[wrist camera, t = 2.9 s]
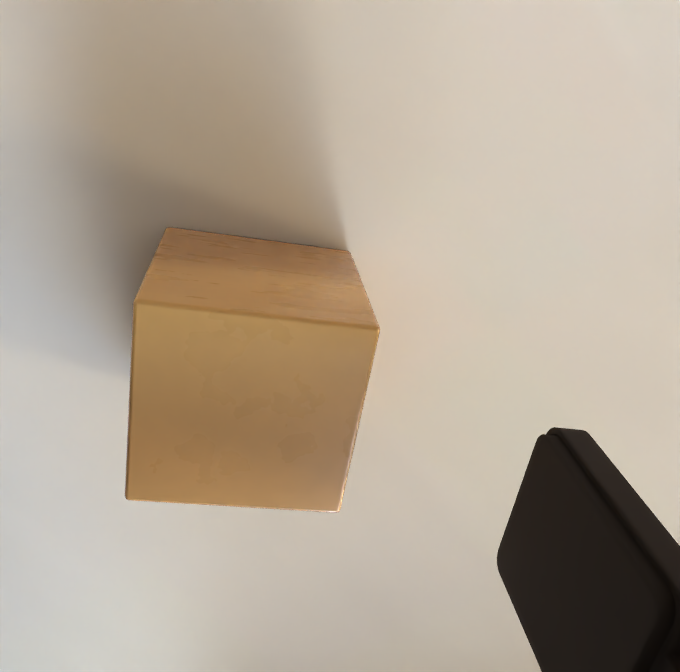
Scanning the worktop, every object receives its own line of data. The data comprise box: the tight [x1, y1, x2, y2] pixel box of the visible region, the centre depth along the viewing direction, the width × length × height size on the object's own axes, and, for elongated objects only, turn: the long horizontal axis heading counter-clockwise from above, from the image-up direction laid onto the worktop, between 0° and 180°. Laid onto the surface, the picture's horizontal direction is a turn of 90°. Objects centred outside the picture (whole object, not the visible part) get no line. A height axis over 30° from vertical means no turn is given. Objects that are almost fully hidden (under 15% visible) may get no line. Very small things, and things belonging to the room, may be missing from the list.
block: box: [125, 227, 380, 513], centre depth 13 cm, size 4×4×4 cm
